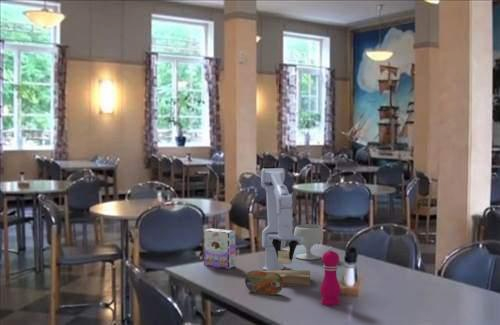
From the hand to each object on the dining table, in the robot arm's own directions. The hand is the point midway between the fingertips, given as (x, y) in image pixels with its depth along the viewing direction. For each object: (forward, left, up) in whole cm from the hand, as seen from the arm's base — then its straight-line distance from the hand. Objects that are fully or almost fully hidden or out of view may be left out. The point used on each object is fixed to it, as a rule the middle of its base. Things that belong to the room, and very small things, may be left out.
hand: (285, 258), depth 227 cm
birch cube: (0, 0, -2) cm, 2 cm away
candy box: (-15, -35, -10) cm, 39 cm away
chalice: (-45, -2, -10) cm, 46 cm away
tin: (+17, -3, -10) cm, 20 cm away
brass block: (0, +1, -10) cm, 10 cm away
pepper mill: (+21, +23, -10) cm, 33 cm away
